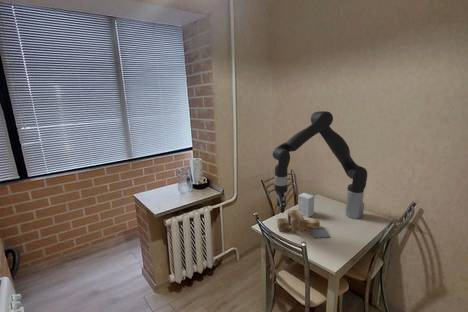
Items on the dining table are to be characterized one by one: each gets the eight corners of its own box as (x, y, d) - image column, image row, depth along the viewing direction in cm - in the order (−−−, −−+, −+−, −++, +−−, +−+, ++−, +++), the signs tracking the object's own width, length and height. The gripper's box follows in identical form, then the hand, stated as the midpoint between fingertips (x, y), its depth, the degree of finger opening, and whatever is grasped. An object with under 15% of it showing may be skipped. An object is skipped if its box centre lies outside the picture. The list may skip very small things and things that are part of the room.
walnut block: (286, 226, 150) (286, 218, 149) (288, 231, 145) (288, 222, 144) (277, 226, 150) (277, 218, 149) (279, 231, 145) (279, 223, 144)
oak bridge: (298, 223, 153) (298, 209, 151) (303, 233, 142) (304, 218, 140) (287, 223, 153) (287, 210, 151) (292, 233, 142) (292, 219, 140)
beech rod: (318, 226, 149) (318, 219, 148) (319, 229, 146) (319, 222, 145) (291, 226, 150) (291, 219, 149) (291, 229, 147) (292, 222, 146)
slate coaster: (324, 228, 146) (324, 227, 146) (330, 237, 137) (330, 236, 137) (308, 229, 145) (308, 228, 145) (314, 238, 137) (314, 237, 137)
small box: (313, 214, 163) (314, 195, 160) (308, 217, 160) (308, 198, 156) (303, 210, 170) (303, 192, 166) (297, 213, 166) (298, 195, 162)
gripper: (290, 187, 134) (290, 214, 138) (284, 178, 147) (284, 203, 151) (276, 187, 133) (276, 215, 137) (272, 179, 147) (272, 204, 151)
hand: (280, 209), depth 144 cm, fingers open, 8 cm apart
